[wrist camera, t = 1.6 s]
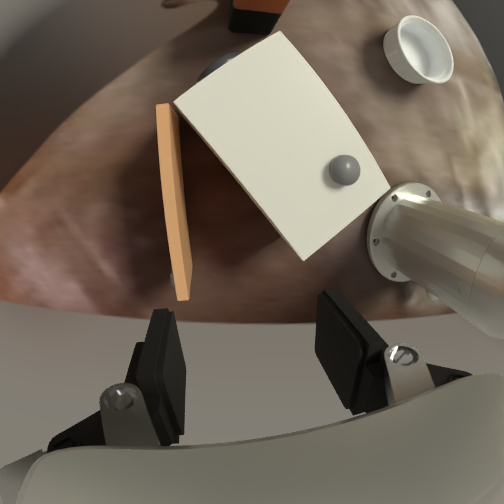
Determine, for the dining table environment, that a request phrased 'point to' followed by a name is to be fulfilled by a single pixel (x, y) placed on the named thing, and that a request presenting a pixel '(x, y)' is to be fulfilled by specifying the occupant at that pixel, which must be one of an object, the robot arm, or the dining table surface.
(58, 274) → the dining table surface
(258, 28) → the battery
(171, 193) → the side door
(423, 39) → the ramekin
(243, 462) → the robot arm
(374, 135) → the dining table surface
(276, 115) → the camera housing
